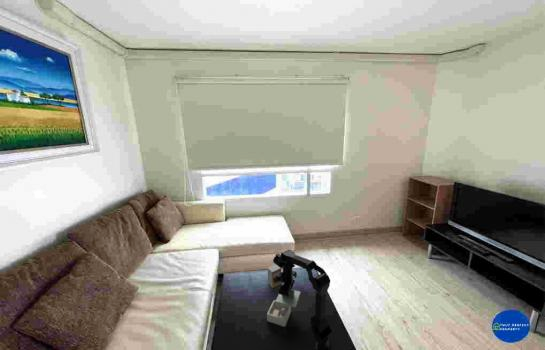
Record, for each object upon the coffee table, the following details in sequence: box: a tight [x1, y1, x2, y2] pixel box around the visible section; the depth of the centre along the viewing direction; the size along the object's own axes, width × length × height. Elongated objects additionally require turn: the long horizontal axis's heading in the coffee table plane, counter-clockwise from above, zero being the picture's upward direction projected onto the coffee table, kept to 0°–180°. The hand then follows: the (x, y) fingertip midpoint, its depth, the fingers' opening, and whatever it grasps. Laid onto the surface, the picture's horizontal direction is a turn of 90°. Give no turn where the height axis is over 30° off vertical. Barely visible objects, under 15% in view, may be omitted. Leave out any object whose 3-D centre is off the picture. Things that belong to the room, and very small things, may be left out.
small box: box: [266, 263, 283, 289], centre depth 153 cm, size 8×6×13 cm
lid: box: [275, 289, 301, 308], centre depth 127 cm, size 12×12×6 cm
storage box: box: [266, 299, 292, 328], centre depth 127 cm, size 11×11×5 cm
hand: (288, 294), depth 127 cm, fingers closed on lid, 2 cm apart
